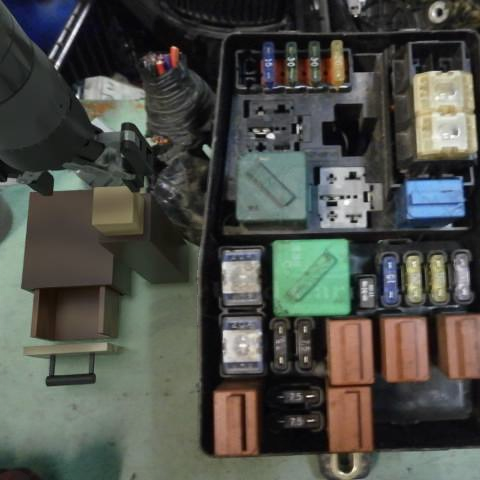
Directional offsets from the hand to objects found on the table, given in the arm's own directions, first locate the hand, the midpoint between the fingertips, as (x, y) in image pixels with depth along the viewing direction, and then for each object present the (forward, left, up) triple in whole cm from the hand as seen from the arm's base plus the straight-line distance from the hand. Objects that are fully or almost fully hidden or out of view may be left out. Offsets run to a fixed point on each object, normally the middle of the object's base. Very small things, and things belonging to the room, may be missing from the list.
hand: (94, 185), depth 54 cm
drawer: (-14, +7, -33) cm, 36 cm away
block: (0, 0, -10) cm, 10 cm away
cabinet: (-3, +12, -34) cm, 36 cm away
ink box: (+10, +16, -34) cm, 39 cm away
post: (0, 0, -34) cm, 34 cm away
